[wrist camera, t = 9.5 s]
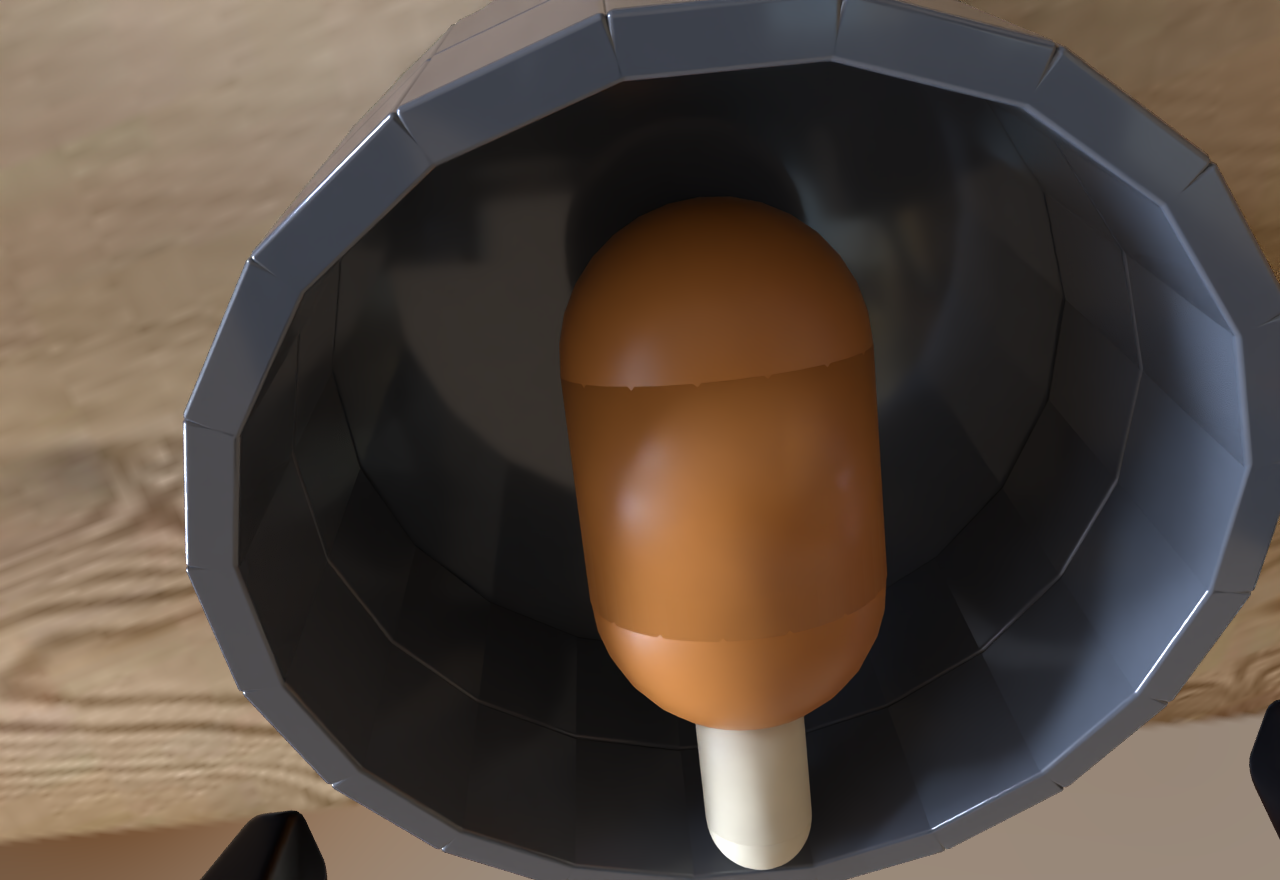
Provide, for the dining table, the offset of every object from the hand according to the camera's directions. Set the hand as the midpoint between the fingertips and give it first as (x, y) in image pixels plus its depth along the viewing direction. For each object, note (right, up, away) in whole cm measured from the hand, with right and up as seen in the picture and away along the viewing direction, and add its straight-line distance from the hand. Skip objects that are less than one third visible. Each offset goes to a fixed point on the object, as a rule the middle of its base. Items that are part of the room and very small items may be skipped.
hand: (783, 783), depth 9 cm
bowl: (0, +4, +7) cm, 8 cm away
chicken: (0, +2, +7) cm, 7 cm away
